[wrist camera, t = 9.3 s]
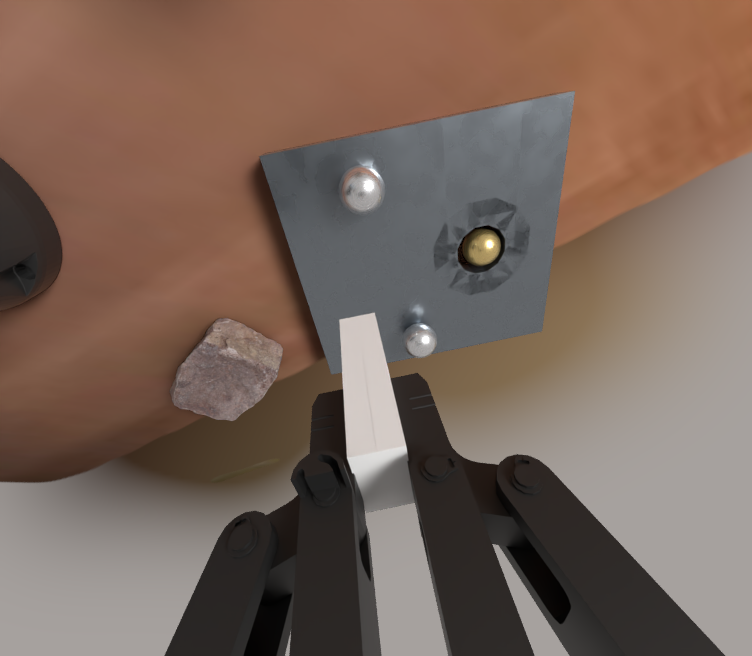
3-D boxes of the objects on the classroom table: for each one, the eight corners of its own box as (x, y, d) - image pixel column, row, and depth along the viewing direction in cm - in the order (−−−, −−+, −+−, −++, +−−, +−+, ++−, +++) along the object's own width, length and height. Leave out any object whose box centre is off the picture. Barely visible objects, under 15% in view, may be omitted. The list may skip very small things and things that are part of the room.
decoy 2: (401, 347, 35) (407, 367, 32) (397, 320, 33) (403, 339, 30) (433, 340, 35) (442, 360, 32) (430, 313, 33) (440, 332, 30)
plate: (331, 360, 38) (331, 374, 36) (265, 153, 26) (259, 156, 24) (530, 319, 38) (541, 331, 36) (555, 93, 26) (574, 91, 24)
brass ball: (458, 269, 33) (481, 273, 29) (451, 234, 31) (474, 234, 28) (486, 257, 33) (511, 260, 30) (481, 223, 32) (506, 222, 29)
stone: (171, 380, 38) (152, 409, 34) (215, 305, 33) (200, 329, 29) (244, 409, 41) (235, 439, 37) (293, 345, 37) (288, 371, 33)
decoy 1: (344, 213, 27) (345, 224, 24) (333, 167, 25) (333, 173, 22) (385, 204, 27) (391, 215, 24) (378, 158, 25) (383, 163, 22)
